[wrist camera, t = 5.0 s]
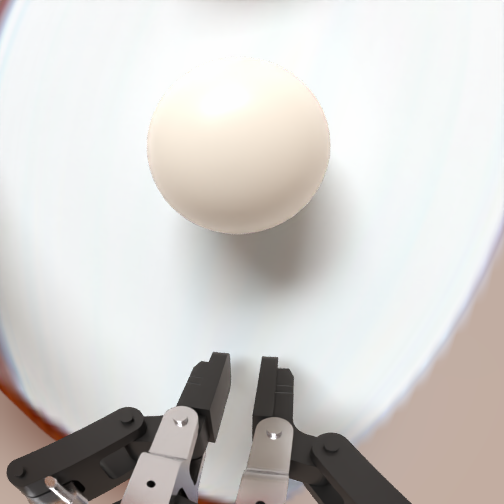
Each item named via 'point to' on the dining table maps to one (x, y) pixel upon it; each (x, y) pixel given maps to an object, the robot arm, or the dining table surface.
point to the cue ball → (238, 145)
